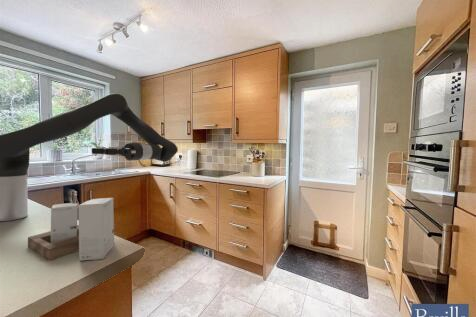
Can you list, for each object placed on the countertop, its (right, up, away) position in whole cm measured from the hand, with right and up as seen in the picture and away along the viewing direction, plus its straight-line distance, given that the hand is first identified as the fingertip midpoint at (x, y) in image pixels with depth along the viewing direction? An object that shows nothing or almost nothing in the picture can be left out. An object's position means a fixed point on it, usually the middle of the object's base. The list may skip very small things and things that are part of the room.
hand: (98, 151), depth 75 cm
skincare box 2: (+12, -29, -18) cm, 36 cm away
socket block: (-1, -29, -14) cm, 32 cm away
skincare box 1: (-1, -29, -13) cm, 32 cm away
